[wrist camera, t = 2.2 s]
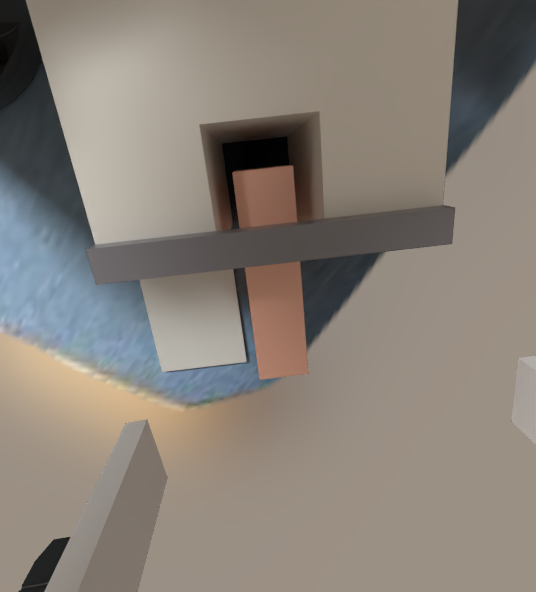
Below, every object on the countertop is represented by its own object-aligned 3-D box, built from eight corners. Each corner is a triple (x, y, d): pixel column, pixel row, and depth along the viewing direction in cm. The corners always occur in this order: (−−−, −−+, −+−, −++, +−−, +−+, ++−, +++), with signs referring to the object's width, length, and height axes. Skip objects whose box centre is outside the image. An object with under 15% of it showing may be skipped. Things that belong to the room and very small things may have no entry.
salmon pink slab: (256, 309, 31) (259, 379, 21) (238, 169, 27) (232, 172, 17) (288, 306, 31) (308, 373, 21) (276, 165, 27) (293, 165, 17)
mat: (163, 369, 33) (162, 371, 33) (135, 257, 29) (134, 259, 29) (246, 359, 33) (246, 361, 33) (230, 247, 29) (230, 248, 29)
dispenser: (166, 230, 28) (95, 284, 15) (130, 59, 24) (-9, -68, 11) (359, 208, 29) (452, 243, 16) (357, 34, 24) (483, -118, 11)
